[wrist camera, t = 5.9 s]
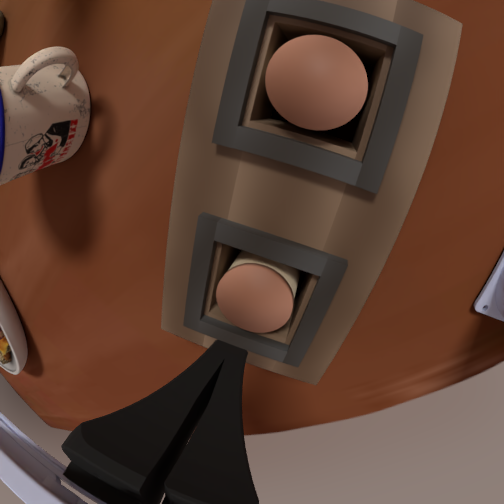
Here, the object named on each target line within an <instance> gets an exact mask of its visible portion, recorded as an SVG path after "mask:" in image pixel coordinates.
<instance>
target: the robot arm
mask: <svg viewBox="0 0 504 504" xmlns="http://www.w3.org/2000/svg"><path fill="white" fill-rule="evenodd" d="M485 305H486V306H485ZM484 306H485V307H484ZM483 307H484V308H483ZM474 308H475V310H476V311H477V312H480V313H482V314H485V315H488V316H490V317H493V318H496V319H498V320H501V321H504V252H503V253H502V255H501V257H500V259H499V261H498V263H497V265H496V267H495V269H494V270H493V272H492V274H491V276H490V278H489V279H488V281H487V283H486V284H485V286H484V288H483V290H482V291H481V293H480V295H479V296H478V298H477V299H476V301H475V303H474ZM247 356H248V352H247V350H245V349H242V348H239V347H237V346H234V345H231V344H228V343H226V342H223V341H221V340H215V341H214V343H213V344H212V345H211V346H210V347H209V348H208V349H207V350H206V352H205V353H204V354H203V355H202V356H200V357H199V358H198V359H197V360H196V361H195V362H194V363H193V364H192V365H191V366H189V367H188V368H187V369H186V370H185V371H184V372H182V373H181V374H180V375H178V376H177V377H176V378H174V379H173V380H172V381H170V382H169V383H168V384H166V385H165V386H163V387H162V388H160V389H159V390H157V391H155V392H154V393H152V394H150V395H149V396H147V397H145V398H143V399H141V400H140V401H138V402H136V403H134V404H132V405H130V406H127V407H125V408H123V409H120V410H118V411H116V412H113V413H111V414H108V415H105V416H102V417H99V418H96V419H93V420H89V421H86V422H83V423H81V424H80V425H79V426H78V427H76V428H75V429H74V430H73V431H72V432H71V433H70V435H69V436H68V438H67V439H66V440H65V442H64V443H63V444H62V450H63V451H64V453H65V454H66V455H67V456H68V458H69V459H70V460H71V462H70V464H69V465H68V467H66V466H65V465H63V464H62V463H60V462H59V461H58V460H56V459H55V458H54V457H52V456H51V455H50V454H48V453H47V452H46V451H45V450H43V449H42V448H41V447H39V446H38V445H37V444H36V443H35V442H33V441H32V440H31V439H30V438H29V437H28V436H26V435H25V434H24V433H23V432H22V431H21V430H20V429H18V428H17V427H16V426H15V425H14V424H13V423H12V422H11V421H10V420H9V419H8V418H7V417H6V416H4V414H2V413H1V412H0V479H1V480H2V481H3V482H4V483H5V484H6V485H7V486H8V487H9V488H10V489H11V490H12V491H13V492H14V493H15V494H16V495H17V496H18V497H19V498H20V499H21V500H23V502H24V503H26V504H87V503H86V502H85V501H83V500H82V499H81V498H79V497H78V496H77V495H75V494H74V493H73V492H71V491H70V490H68V489H67V488H66V487H64V486H63V485H61V481H60V479H61V480H62V481H64V482H65V483H67V484H68V485H70V486H71V487H73V488H74V489H76V490H77V491H79V492H80V493H81V494H83V495H85V496H86V497H88V498H89V499H91V500H93V501H94V502H96V503H97V504H160V502H161V500H162V497H163V495H164V493H165V498H164V500H163V502H162V504H259V500H258V497H257V494H256V491H255V487H254V484H253V480H252V476H251V472H250V468H249V463H248V458H247V454H246V448H245V441H244V432H243V421H242V383H243V374H244V367H245V362H246V358H247ZM196 426H197V427H196ZM195 428H196V429H195ZM194 430H195V431H194ZM193 431H194V432H193ZM192 433H193V434H192ZM191 435H192V436H191ZM190 437H191V438H190ZM189 439H190V440H189ZM188 441H189V442H188ZM59 478H60V479H59Z"/></svg>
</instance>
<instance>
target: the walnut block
mask: <svg viewBox="0 0 504 504" xmlns="http://www.w3.org/2000/svg"><path fill="white" fill-rule="evenodd" d="M461 30H462V23H460V22H458V21H456V20H454V19H452V18H450V17H448V16H446V15H444V14H442V13H440V12H438V11H436V10H434V9H432V8H430V7H427V6H425V5H423V4H420V3H418V2H416V1H413V0H213V1H212V5H211V8H210V12H209V15H208V19H207V22H206V26H205V30H204V34H203V38H202V42H201V46H200V50H199V54H198V58H197V62H196V67H195V71H194V76H193V80H192V85H191V90H190V95H189V99H188V105H187V110H186V115H185V120H184V126H183V131H182V137H181V143H180V149H179V155H178V162H177V168H176V175H175V182H174V189H173V197H172V204H171V213H170V221H169V230H168V240H167V250H166V261H165V273H164V287H163V302H162V321H161V329H163V330H165V331H167V332H170V333H172V334H174V335H177V336H179V337H181V338H184V339H186V340H189V341H191V342H193V343H196V344H198V345H201V346H203V347H206V348H209V347H210V346H211V345H212V344H213V343H214V341H215V340H221V341H223V342H226V343H228V344H231V345H234V346H237V347H239V348H242V349H245V350H247V352H248V356H247V358H246V363H249V364H251V365H254V366H257V367H260V368H263V369H266V370H269V371H272V372H275V373H278V374H281V375H284V376H287V377H290V378H294V379H297V380H300V381H303V382H307V383H310V384H314V385H317V383H318V382H319V380H320V379H321V377H322V375H323V374H324V372H325V371H326V369H327V368H328V366H329V364H330V363H331V361H332V360H333V358H334V356H335V355H336V353H337V351H338V350H339V348H340V346H341V345H342V343H343V341H344V340H345V338H346V336H347V334H348V333H349V331H350V329H351V327H352V326H353V324H354V322H355V320H356V318H357V317H358V315H359V313H360V311H361V309H362V307H363V306H364V304H365V302H366V300H367V298H368V296H369V294H370V292H371V290H372V288H373V287H374V285H375V283H376V281H377V279H378V277H379V275H380V273H381V271H382V269H383V266H384V264H385V262H386V260H387V258H388V256H389V254H390V252H391V250H392V247H393V245H394V243H395V241H396V239H397V236H398V234H399V232H400V230H401V227H402V225H403V223H404V220H405V218H406V216H407V213H408V211H409V208H410V206H411V203H412V201H413V198H414V196H415V193H416V191H417V188H418V186H419V183H420V180H421V178H422V175H423V172H424V169H425V167H426V164H427V161H428V158H429V155H430V152H431V149H432V146H433V143H434V140H435V137H436V134H437V131H438V127H439V124H440V121H441V117H442V114H443V110H444V107H445V103H446V99H447V96H448V92H449V88H450V84H451V80H452V75H453V71H454V66H455V62H456V57H457V52H458V47H459V42H460V36H461ZM306 35H322V36H327V37H331V38H334V39H336V40H338V41H340V42H342V43H344V44H345V45H347V46H348V47H349V48H350V49H352V50H353V51H354V52H355V54H356V55H357V56H358V57H359V59H360V60H361V62H364V63H367V64H369V65H372V66H373V70H372V74H371V77H370V81H369V85H368V91H367V96H366V99H365V102H364V104H363V106H362V110H361V113H360V116H359V120H358V123H357V127H356V130H355V133H354V136H353V140H352V143H351V142H348V141H345V140H343V139H340V138H337V137H334V136H331V135H327V134H324V133H321V132H318V131H315V130H309V129H305V128H302V127H299V126H296V125H294V124H291V123H287V122H284V121H280V120H276V119H272V118H271V115H272V111H273V107H274V106H273V105H272V103H271V101H270V99H269V97H268V94H267V90H266V84H265V76H266V70H267V67H268V64H269V61H270V59H271V58H272V56H273V55H274V53H275V52H276V51H277V50H278V49H279V48H280V47H281V46H282V45H283V44H285V43H287V42H288V41H290V40H292V39H294V38H297V37H301V36H306ZM238 249H241V250H244V251H247V252H250V253H253V254H255V255H258V256H261V257H264V258H267V259H270V260H273V261H276V262H279V263H282V264H285V265H288V266H291V267H294V268H297V269H300V270H303V271H306V272H307V273H306V275H305V278H304V281H303V283H302V286H301V288H300V291H299V293H298V296H297V297H295V298H294V305H293V309H292V313H291V316H290V318H289V320H288V321H287V322H286V323H285V324H284V325H283V326H282V327H280V328H278V329H277V330H274V331H271V332H265V333H257V332H251V331H247V330H244V329H242V328H240V327H238V326H236V325H234V324H233V323H232V322H230V321H229V320H228V319H227V318H226V317H225V316H224V314H223V313H222V312H221V310H220V308H219V306H218V303H217V299H216V290H217V286H218V284H219V282H220V280H221V279H222V277H223V276H224V274H225V273H226V272H227V271H228V270H229V268H230V267H231V265H232V264H233V262H234V261H235V259H236V258H237V253H238Z"/></svg>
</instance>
